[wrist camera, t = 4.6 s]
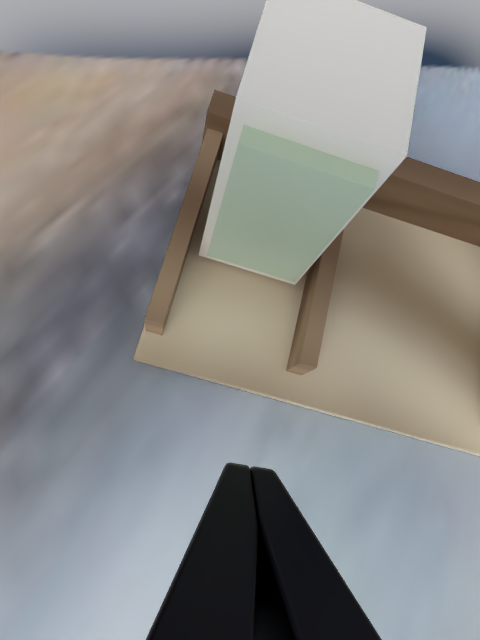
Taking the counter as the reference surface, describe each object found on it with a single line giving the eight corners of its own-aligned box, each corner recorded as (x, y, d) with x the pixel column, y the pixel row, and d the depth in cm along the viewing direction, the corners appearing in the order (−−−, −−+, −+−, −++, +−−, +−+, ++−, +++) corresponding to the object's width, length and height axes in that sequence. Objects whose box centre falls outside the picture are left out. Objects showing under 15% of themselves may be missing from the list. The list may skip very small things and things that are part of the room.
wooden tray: (600, 490, 18) (684, 497, 15) (134, 360, 16) (130, 341, 13) (599, 275, 21) (669, 248, 18) (205, 143, 19) (214, 89, 16)
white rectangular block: (292, 296, 17) (404, 175, 9) (194, 267, 17) (230, 115, 9) (313, 201, 18) (426, 27, 11) (224, 171, 18) (276, -32, 10)
